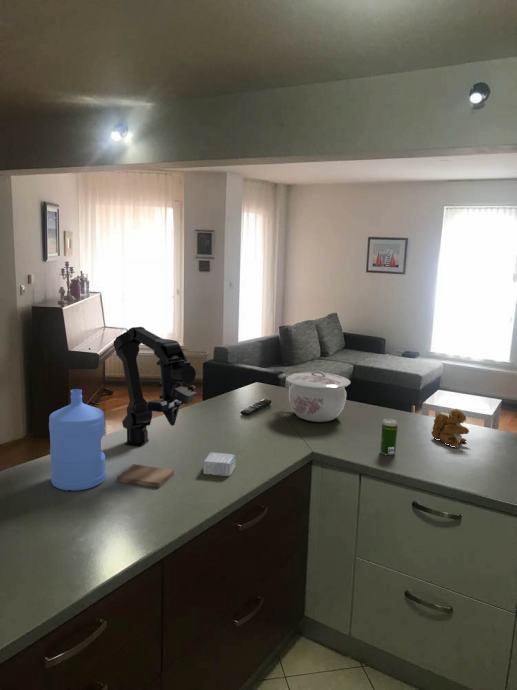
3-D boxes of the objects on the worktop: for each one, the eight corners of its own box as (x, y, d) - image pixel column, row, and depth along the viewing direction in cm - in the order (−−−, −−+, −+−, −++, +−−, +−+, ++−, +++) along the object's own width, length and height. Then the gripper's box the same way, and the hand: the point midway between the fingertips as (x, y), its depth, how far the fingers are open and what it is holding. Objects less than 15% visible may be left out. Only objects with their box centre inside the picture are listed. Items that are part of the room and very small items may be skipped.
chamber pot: (353, 428, 212) (356, 379, 209) (285, 426, 213) (287, 377, 209) (343, 408, 240) (345, 364, 236) (283, 406, 240) (284, 362, 237)
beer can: (398, 455, 185) (401, 422, 183) (385, 457, 184) (387, 424, 182) (389, 449, 190) (392, 418, 188) (377, 451, 189) (379, 419, 186)
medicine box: (202, 474, 165) (229, 477, 164) (203, 460, 164) (230, 463, 163) (210, 464, 173) (235, 467, 171) (210, 451, 172) (236, 454, 171)
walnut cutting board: (117, 481, 158) (117, 476, 158) (133, 468, 168) (133, 464, 168) (159, 487, 155) (159, 483, 155) (173, 474, 164) (173, 470, 164)
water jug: (75, 497, 148) (71, 401, 143) (40, 483, 156) (35, 391, 151) (117, 477, 161) (115, 389, 156) (82, 465, 169) (80, 381, 164)
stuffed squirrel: (458, 450, 192) (461, 415, 190) (423, 439, 203) (426, 406, 200) (471, 444, 199) (474, 410, 197) (437, 434, 209) (440, 402, 207)
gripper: (173, 387, 161) (176, 436, 163) (205, 375, 177) (208, 420, 179) (144, 384, 166) (147, 432, 168) (178, 373, 182) (181, 416, 184)
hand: (172, 425), depth 175 cm, fingers closed
